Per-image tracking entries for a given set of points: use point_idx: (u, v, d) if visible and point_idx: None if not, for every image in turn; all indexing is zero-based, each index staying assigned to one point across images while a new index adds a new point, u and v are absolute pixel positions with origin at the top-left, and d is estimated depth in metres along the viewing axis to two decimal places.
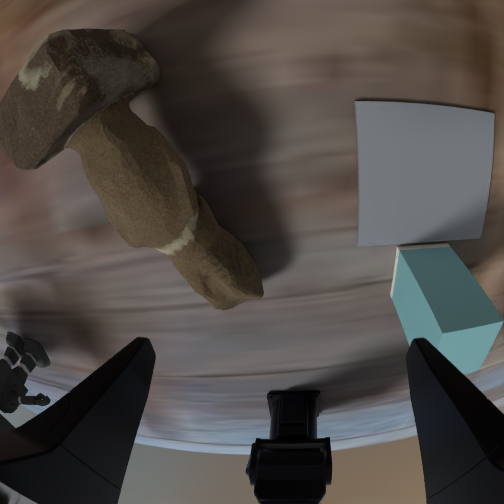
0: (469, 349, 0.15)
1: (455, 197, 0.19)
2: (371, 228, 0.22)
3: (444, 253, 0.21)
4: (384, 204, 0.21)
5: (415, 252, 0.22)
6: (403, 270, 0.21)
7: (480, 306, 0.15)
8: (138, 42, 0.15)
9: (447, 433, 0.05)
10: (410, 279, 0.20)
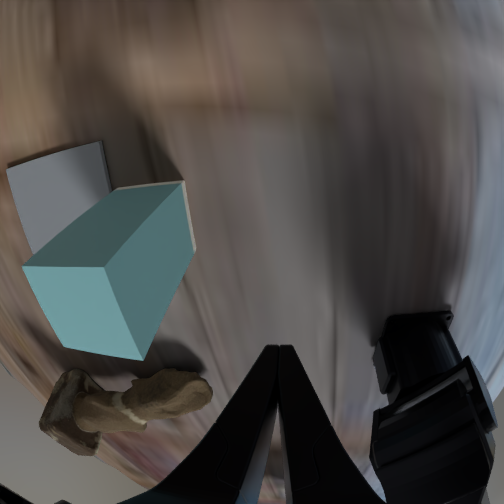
0: (69, 308, 0.11)
1: (69, 198, 0.19)
2: None
3: None
4: None
5: None
6: None
7: None
8: (63, 375, 0.31)
9: (283, 452, 0.06)
10: None
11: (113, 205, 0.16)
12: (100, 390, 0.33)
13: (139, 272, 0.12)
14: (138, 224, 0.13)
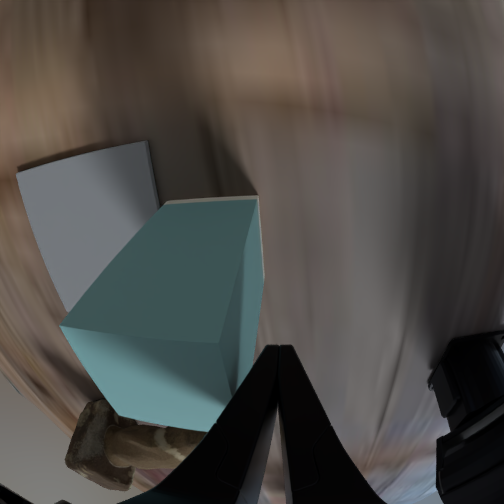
0: (138, 382, 0.08)
1: (100, 212, 0.16)
2: None
3: None
4: None
5: None
6: None
7: None
8: (88, 406, 0.28)
9: (283, 452, 0.06)
10: None
11: (176, 228, 0.13)
12: (130, 420, 0.30)
13: (239, 330, 0.09)
14: (234, 262, 0.10)
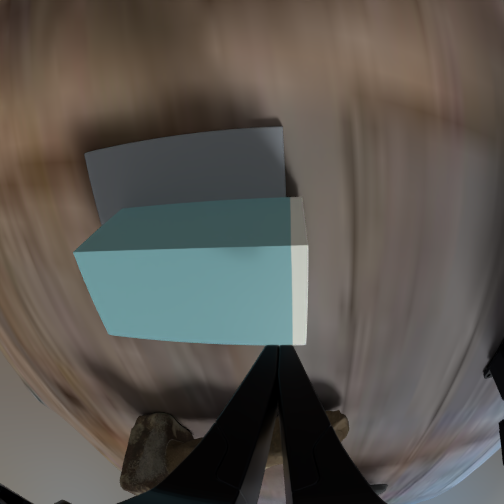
0: None
1: None
2: None
3: None
4: None
5: None
6: None
7: None
8: (141, 421, 0.28)
9: (283, 452, 0.06)
10: None
11: (221, 214, 0.14)
12: (187, 432, 0.29)
13: (121, 284, 0.12)
14: (140, 247, 0.11)
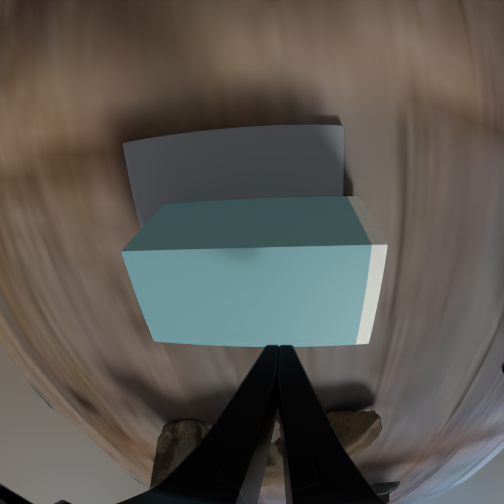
0: None
1: None
2: None
3: None
4: None
5: None
6: None
7: None
8: (168, 429, 0.27)
9: (283, 452, 0.06)
10: None
11: (285, 211, 0.13)
12: None
13: (179, 287, 0.12)
14: (207, 246, 0.11)
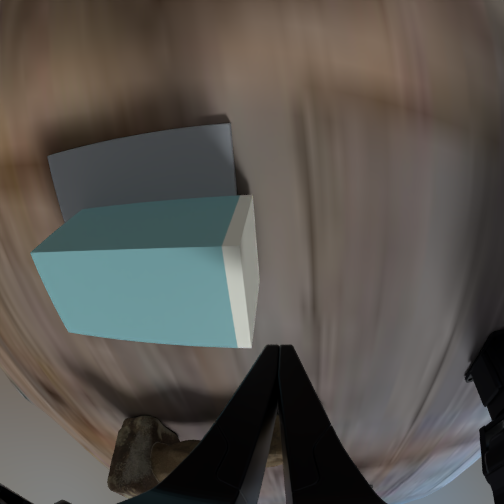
0: None
1: None
2: None
3: None
4: None
5: None
6: None
7: None
8: (127, 423, 0.28)
9: (283, 452, 0.06)
10: None
11: (167, 213, 0.13)
12: (172, 435, 0.29)
13: (72, 283, 0.12)
14: (85, 248, 0.11)
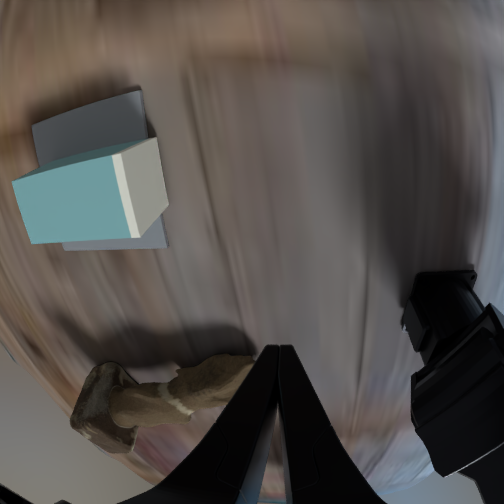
0: None
1: None
2: (147, 237, 0.22)
3: None
4: None
5: None
6: None
7: None
8: (95, 369, 0.32)
9: (283, 452, 0.06)
10: None
11: (98, 151, 0.17)
12: (134, 384, 0.34)
13: (35, 199, 0.16)
14: (43, 171, 0.15)
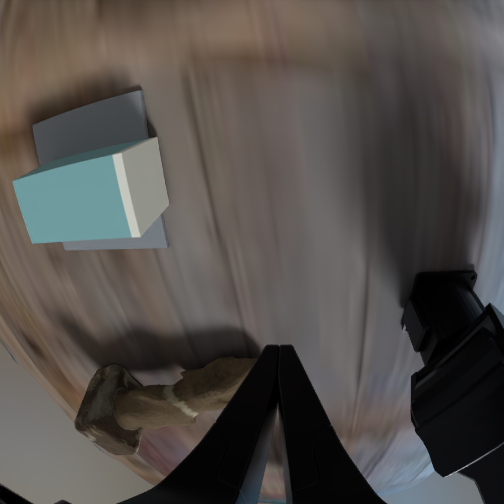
0: None
1: None
2: (147, 236, 0.23)
3: None
4: None
5: None
6: None
7: None
8: (99, 372, 0.32)
9: (283, 452, 0.06)
10: None
11: (98, 151, 0.17)
12: (139, 386, 0.34)
13: (35, 199, 0.16)
14: (43, 171, 0.15)
